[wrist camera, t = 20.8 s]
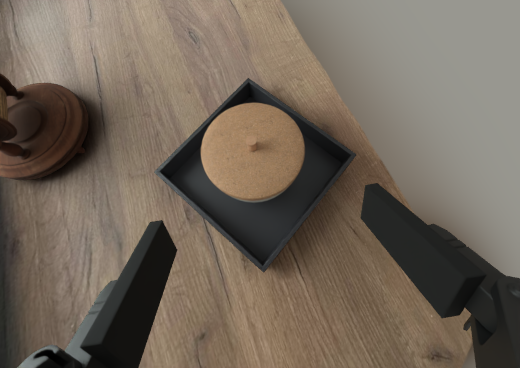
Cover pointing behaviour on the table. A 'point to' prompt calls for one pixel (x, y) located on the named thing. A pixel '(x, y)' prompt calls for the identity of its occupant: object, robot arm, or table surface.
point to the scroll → (39, 129)
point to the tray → (261, 213)
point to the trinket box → (253, 152)
